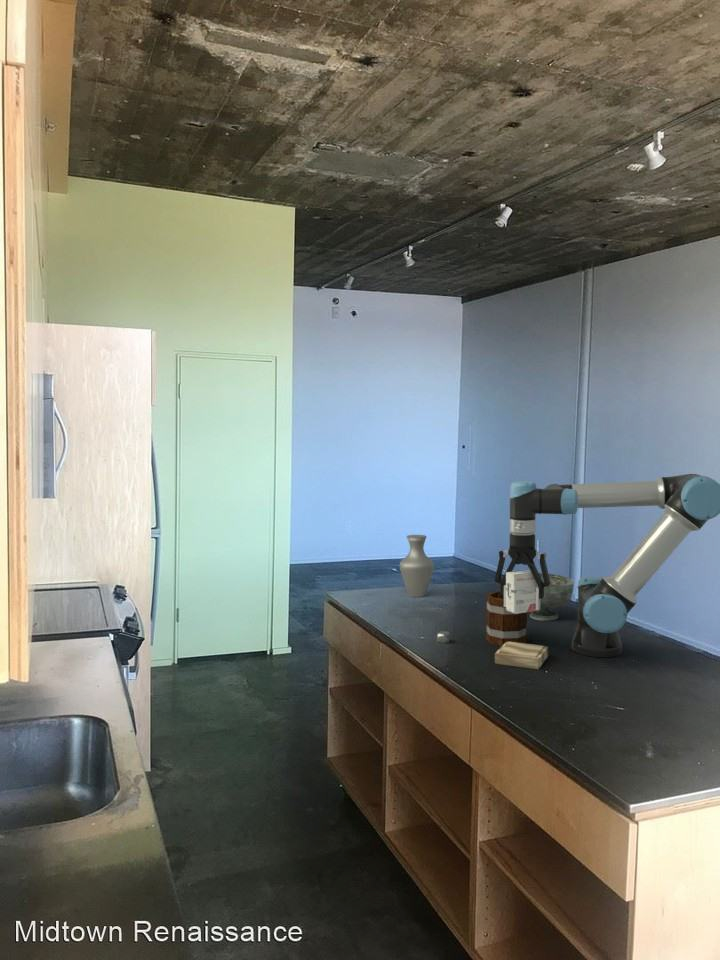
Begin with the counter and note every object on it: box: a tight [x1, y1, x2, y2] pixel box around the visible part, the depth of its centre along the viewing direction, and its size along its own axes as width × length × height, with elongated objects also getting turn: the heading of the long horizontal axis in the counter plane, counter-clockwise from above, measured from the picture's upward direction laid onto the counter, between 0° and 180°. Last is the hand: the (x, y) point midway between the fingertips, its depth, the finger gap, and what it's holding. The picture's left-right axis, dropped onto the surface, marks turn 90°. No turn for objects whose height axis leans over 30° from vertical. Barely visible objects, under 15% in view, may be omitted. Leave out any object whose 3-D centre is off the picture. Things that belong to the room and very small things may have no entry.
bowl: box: [529, 572, 575, 622], centre depth 273 cm, size 20×19×15 cm
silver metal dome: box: [436, 630, 450, 645], centre depth 245 cm, size 4×4×3 cm
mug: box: [485, 590, 528, 647], centre depth 248 cm, size 20×14×15 cm
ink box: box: [505, 569, 538, 614], centre depth 224 cm, size 9×5×12 cm, turn 112°
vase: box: [399, 534, 435, 598], centre depth 309 cm, size 14×14×25 cm
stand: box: [494, 642, 549, 670], centre depth 225 cm, size 13×13×4 cm
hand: (521, 607), depth 224 cm, fingers closed on ink box, 9 cm apart
